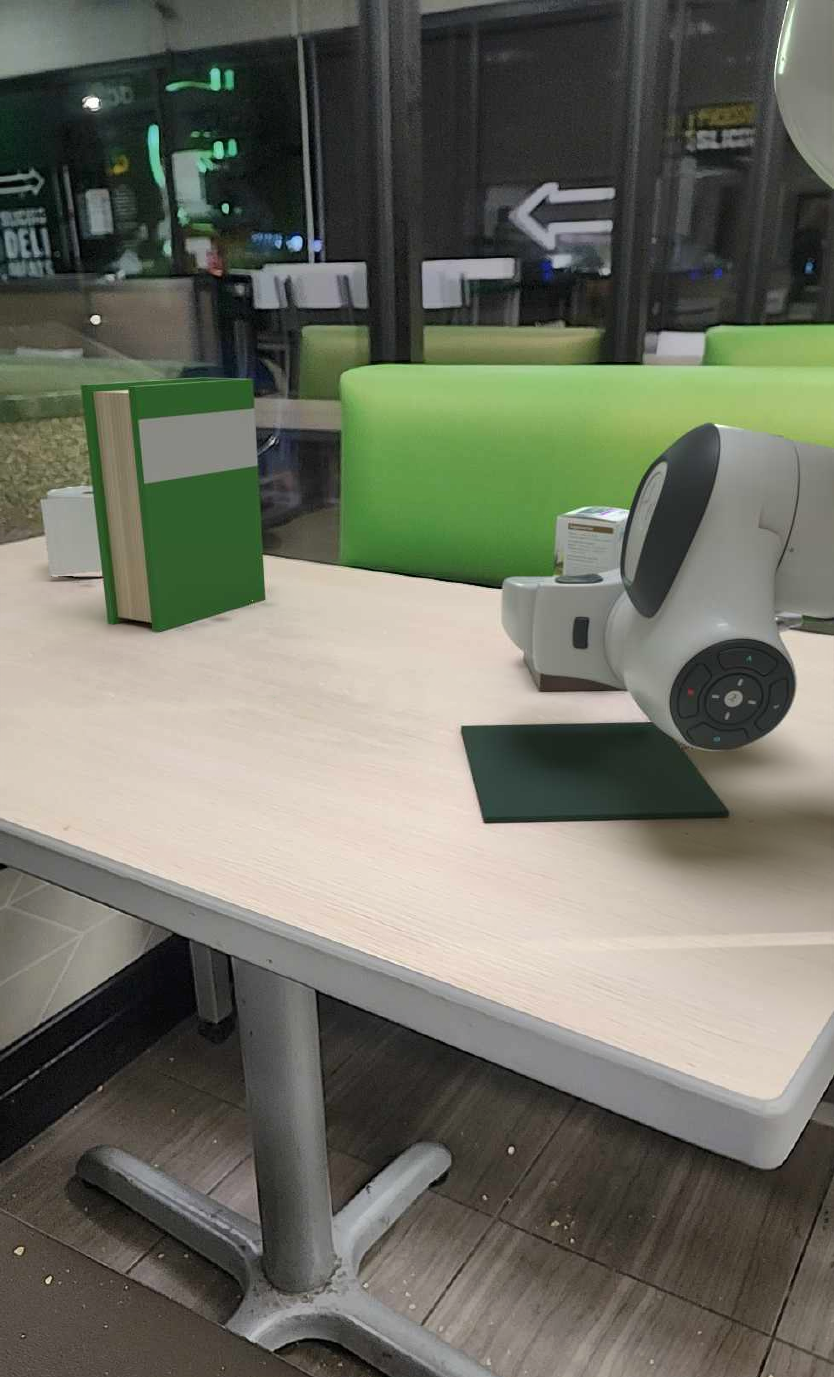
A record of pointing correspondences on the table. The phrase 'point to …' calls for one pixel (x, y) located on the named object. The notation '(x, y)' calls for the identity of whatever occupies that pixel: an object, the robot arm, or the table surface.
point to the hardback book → (175, 497)
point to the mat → (584, 773)
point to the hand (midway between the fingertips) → (619, 584)
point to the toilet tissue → (71, 531)
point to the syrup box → (589, 540)
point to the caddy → (562, 681)
